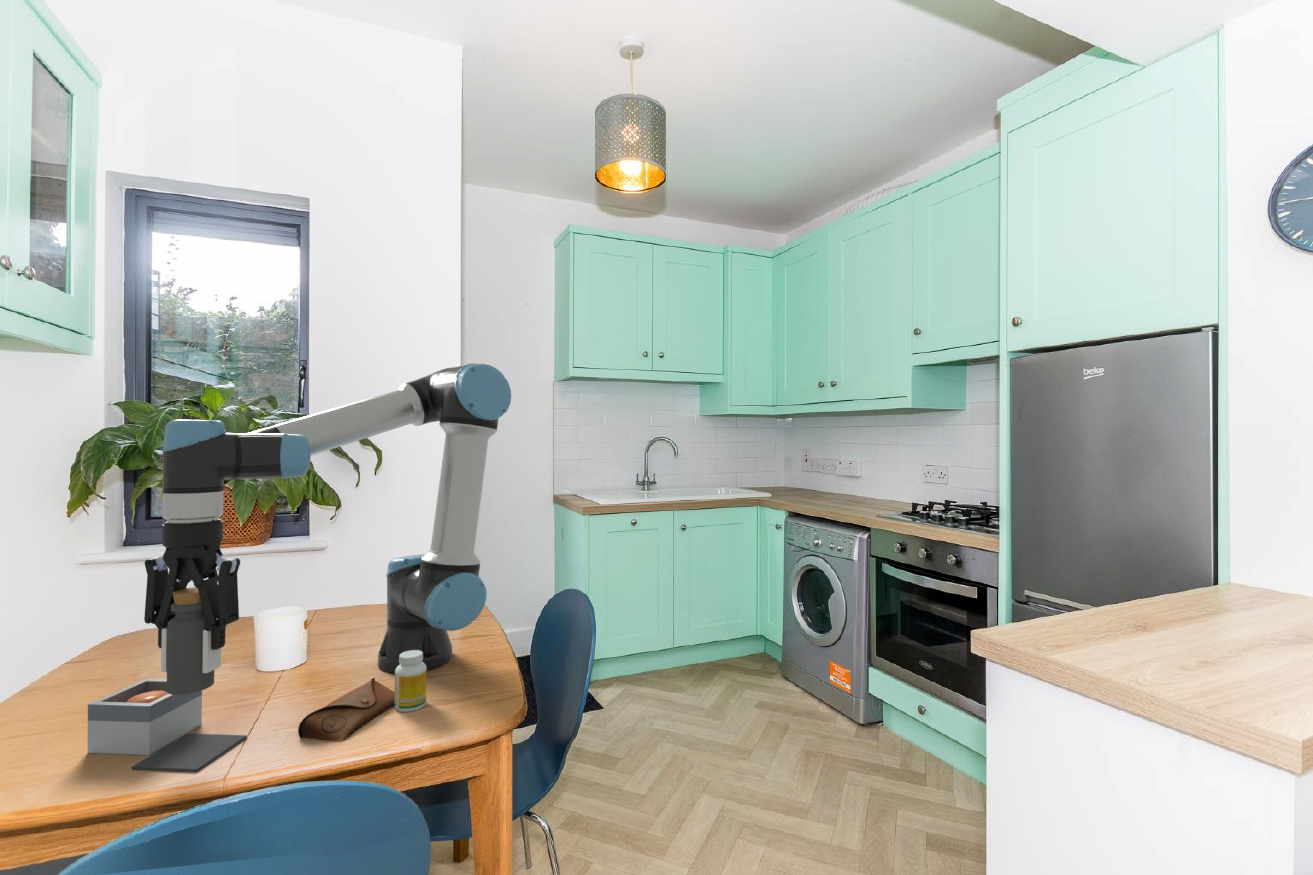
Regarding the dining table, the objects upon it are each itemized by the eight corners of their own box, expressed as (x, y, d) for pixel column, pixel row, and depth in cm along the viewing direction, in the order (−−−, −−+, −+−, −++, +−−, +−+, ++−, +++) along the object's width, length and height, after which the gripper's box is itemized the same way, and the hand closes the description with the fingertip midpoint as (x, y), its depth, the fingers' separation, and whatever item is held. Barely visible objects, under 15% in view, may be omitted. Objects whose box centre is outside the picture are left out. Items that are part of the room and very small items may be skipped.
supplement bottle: (388, 707, 109) (388, 654, 109) (415, 697, 114) (415, 646, 114) (405, 715, 106) (406, 661, 106) (432, 704, 111) (432, 652, 111)
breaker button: (175, 727, 100) (175, 691, 100) (148, 742, 95) (148, 704, 95) (146, 726, 101) (146, 690, 101) (118, 741, 96) (118, 703, 96)
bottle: (188, 696, 90) (189, 596, 90) (156, 693, 91) (157, 593, 91) (223, 681, 96) (225, 586, 96) (193, 678, 97) (194, 584, 97)
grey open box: (201, 724, 103) (202, 680, 103) (149, 754, 93) (149, 706, 93) (145, 722, 103) (145, 678, 103) (87, 752, 93) (87, 704, 93)
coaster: (246, 737, 98) (246, 735, 98) (196, 771, 88) (196, 768, 88) (187, 735, 99) (187, 733, 99) (131, 769, 89) (131, 766, 89)
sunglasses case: (342, 743, 96) (324, 705, 97) (309, 761, 98) (292, 723, 98) (410, 696, 114) (394, 664, 115) (381, 712, 115) (366, 680, 116)
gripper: (269, 517, 97) (267, 661, 97) (156, 515, 98) (154, 658, 98) (233, 523, 89) (231, 680, 89) (112, 521, 90) (110, 676, 90)
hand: (191, 668), depth 93 cm, fingers closed on bottle, 6 cm apart
